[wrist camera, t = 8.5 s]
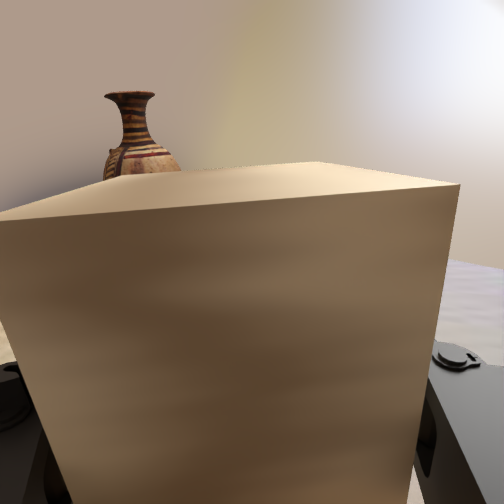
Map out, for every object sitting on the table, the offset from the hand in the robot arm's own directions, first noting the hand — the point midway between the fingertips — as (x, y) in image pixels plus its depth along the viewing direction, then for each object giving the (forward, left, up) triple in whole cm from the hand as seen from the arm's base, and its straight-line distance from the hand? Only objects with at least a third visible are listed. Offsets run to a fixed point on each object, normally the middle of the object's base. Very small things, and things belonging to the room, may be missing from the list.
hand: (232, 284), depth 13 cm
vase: (+15, -60, -17) cm, 64 cm away
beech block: (0, +5, -7) cm, 9 cm away
